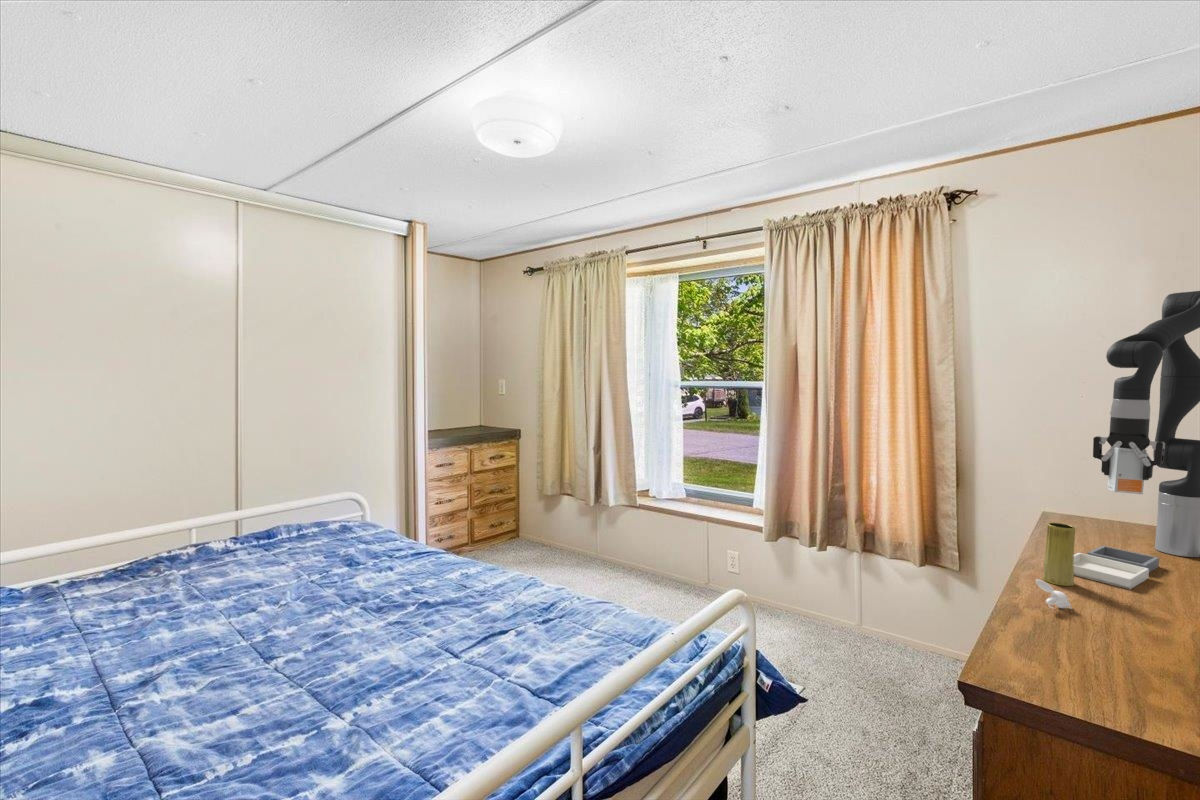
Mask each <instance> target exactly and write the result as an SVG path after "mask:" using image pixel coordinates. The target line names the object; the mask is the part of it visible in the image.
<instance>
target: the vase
mask: <svg viewBox="0 0 1200 800" xmlns="http://www.w3.org/2000/svg"><path fill="white" fill-rule="evenodd" d="M1075 538H1076V527H1075V526H1073V525H1071V524H1067V523H1061V522H1048V523H1047V533H1046V541H1045V551H1044V561H1043V572H1042V573H1043V574H1042V576H1041V580H1042V581H1044V582H1046V583H1048V584H1052V585H1055V586H1060V587H1061V586H1062V587H1072V586H1075V575H1074V554H1075Z"/></svg>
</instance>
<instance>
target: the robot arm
mask: <svg viewBox="0 0 1200 800" xmlns="http://www.w3.org/2000/svg"><path fill="white" fill-rule="evenodd" d="M1161 307H1162V308H1161V319H1159V320H1155V321H1154V322H1152V323H1150V324H1148V325H1146V326H1145V327H1144V328H1143V329H1142V330H1140V331H1138V332H1137V333H1135V334H1131V335H1129V336H1127V337H1125V338H1122V339H1119V340H1117V341H1116V342H1114V343H1113V344H1111V345H1110V347H1109V348H1108V349H1107V352H1106V355H1105V356H1106V357H1105V358H1106V360H1107V362H1108V364H1109V365H1110V366H1112V367H1114V368H1120V369H1136V371H1135V373H1133V374H1132V375H1128V376H1123V377H1122V376H1121V377H1118V378H1116V379H1115V380H1114V383H1113V395H1112V396H1113V397H1112V403H1111V407H1110V412H1109V415H1110V421H1109V434H1108V436H1100V435H1099V436H1094V437H1093V445H1092V446H1093V447H1092V457H1093V458H1094V459H1098V460H1100V461H1101V470H1100V471H1101V473H1103V475H1104V476H1108V475H1109V462H1110V457H1111V456H1112V455H1113V453H1114V448H1115V447H1117V448H1129V449H1133V450H1134V452H1135V453H1136V455H1137V456H1138V457H1139V458H1140V459H1141V460H1142V462H1143V463H1144V464H1145V466H1143V480H1144V481H1149V479H1152V478H1153V472H1154V471H1153V470H1154V467H1155V466H1157V467H1158V468H1160V469H1167V470H1174V471H1181V472H1187V473H1186V476H1184V477H1182V478H1180V479H1173V480H1172V479H1171V480H1164V481H1161V482H1160V483H1159V484H1158V497H1157V509H1156V510H1157V511H1156V512H1157V513H1156V525H1155V526H1156V527H1155V538H1154V539H1155V542H1154V549H1155V550H1156V551H1159V552H1162V553H1165V554H1167V555H1174V556H1177V557H1179V556H1180V557H1186V558H1200V439H1192V438H1181V437H1180V438H1178V437H1176V433H1177V430H1178V427H1179V425H1180V423H1181V422H1182V420H1183V419H1184V418H1185V417H1186V416H1187V415H1188V414H1189V413H1190V412H1191V411H1192V410H1193V409H1194V408H1195V407H1196V406H1198V404H1200V357H1199V356H1198V354H1196V352H1195V351H1194V350H1193V349H1192V347H1190V345H1189V344H1188V342H1187V340H1186V335H1188V334H1190V333H1192V332H1194V331H1196V330H1198V329H1200V290H1195V291H1186V292H1185V291H1184V292H1183V291H1182V292H1173V293H1169V294H1168V295H1166V296H1165V298H1164V300H1163V302H1162V306H1161ZM1160 363H1161V370H1160V383H1159V406H1158V407H1159V408H1158V409H1159V410H1158V419H1157V427H1156V432H1155V437H1154V438H1155V439H1154V441H1152V440H1151V439H1150V438H1149V437H1150V436H1149V434H1150V433H1149V432H1150V421H1151V420H1150V419H1151V402H1150V399H1151V387H1152V383H1153V381H1154V376H1155V375H1156V372H1157V370H1158V368H1159V366H1160ZM1106 442H1107V443H1108V444H1109V446H1110V448H1109V449H1108V450H1107V451H1106V452H1105V454H1103V445H1105V443H1106ZM1149 446H1151V447H1152V449H1153V452H1152V453H1153V454H1152V456H1153V460H1152V459H1151V457H1150V456H1149V453H1148V452H1147V451H1146V454H1143V452H1142V450H1144V449H1145V450H1147V448H1148V447H1149ZM1139 453H1140V454H1139Z"/></svg>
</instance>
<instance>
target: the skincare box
mask: <svg viewBox="0 0 1200 800" xmlns="http://www.w3.org/2000/svg"><path fill="white" fill-rule="evenodd" d="M1142 452H1143V454H1146V452H1147V449H1144V450H1142ZM1139 454H1140V453H1139ZM1143 466H1145V464H1144V463H1143V462H1142V460H1141V459H1140V458H1139V457H1138V456H1137V455H1136V453H1135V452H1134V450H1133V449H1129V448H1117V447H1115V448H1114V453H1113V455H1112V456H1111V457H1110V462H1109V475H1107V476H1108V477H1107V478H1108V479H1107V490H1109V491H1110V492H1114V493H1123V494H1136V495H1143V494H1144V484H1145V480H1143Z"/></svg>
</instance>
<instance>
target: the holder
mask: <svg viewBox="0 0 1200 800" xmlns="http://www.w3.org/2000/svg"><path fill="white" fill-rule="evenodd" d="M1087 555H1092V556H1096V557H1100V558H1105V559H1109V560H1113V561H1118V562H1122V563H1127V564H1131V565H1135V566H1140V567H1144V568H1148V569H1149V573H1151V572H1152V571H1154V570H1156V569H1157V568H1159V567H1160V565H1159V564H1160V557H1159V556H1158V557H1157V556H1154V555H1148V554H1144V553H1140V552H1133V551H1130V550H1125V549H1121V548H1116V547H1111V546H1107V545H1101V546H1099V547H1097V548H1094V549H1092V550H1090V551H1088V552H1087Z"/></svg>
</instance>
